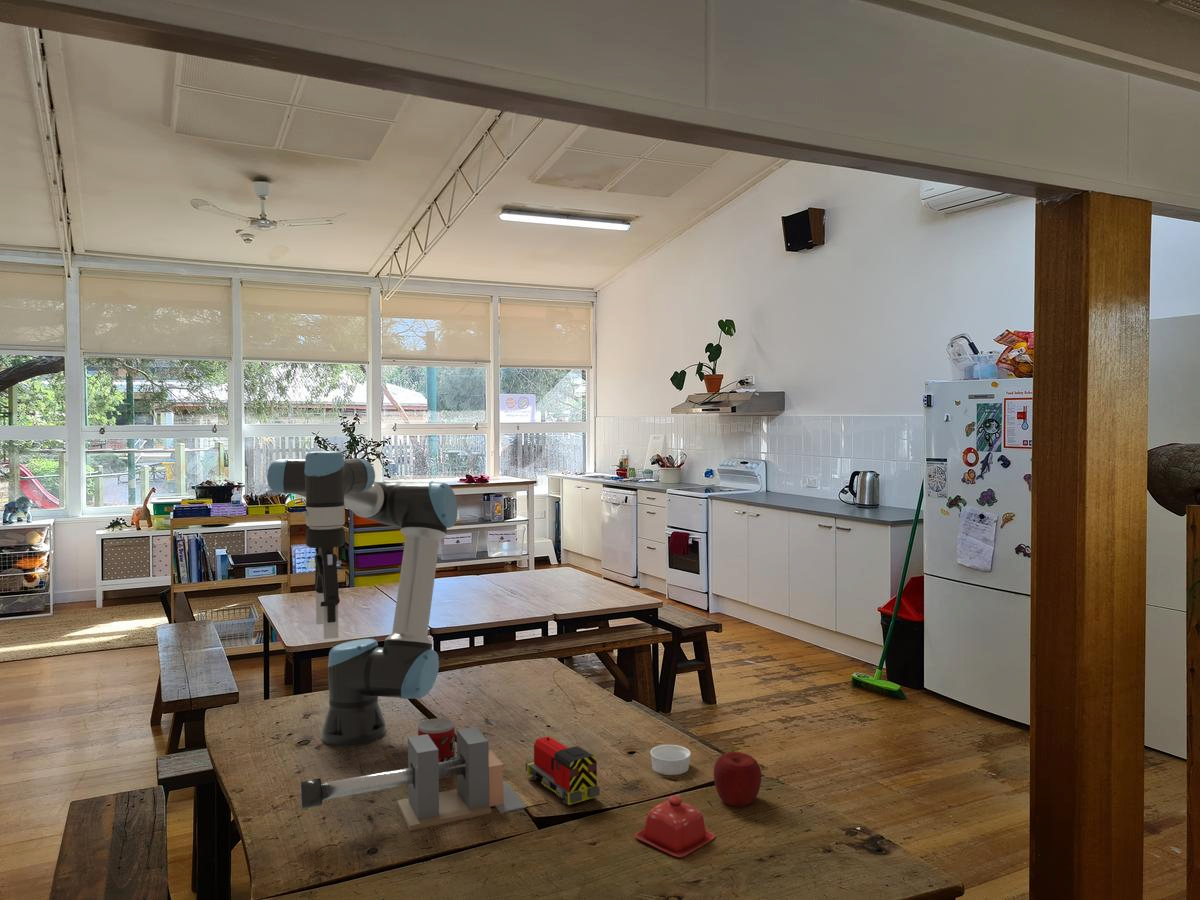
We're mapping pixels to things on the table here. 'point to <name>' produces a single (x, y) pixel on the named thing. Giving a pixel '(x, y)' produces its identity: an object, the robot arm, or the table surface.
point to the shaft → (368, 783)
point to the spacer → (495, 781)
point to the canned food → (440, 736)
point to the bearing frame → (424, 794)
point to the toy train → (564, 770)
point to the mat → (510, 800)
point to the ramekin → (670, 759)
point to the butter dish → (675, 828)
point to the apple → (737, 778)
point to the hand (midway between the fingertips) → (326, 630)
